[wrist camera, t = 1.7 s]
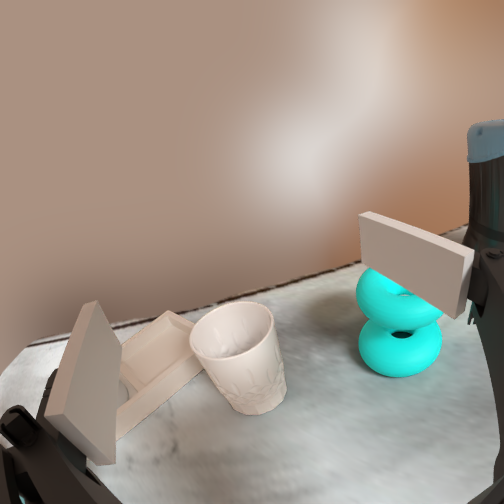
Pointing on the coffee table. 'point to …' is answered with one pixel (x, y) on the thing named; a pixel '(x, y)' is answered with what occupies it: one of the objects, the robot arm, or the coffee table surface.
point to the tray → (155, 368)
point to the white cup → (241, 355)
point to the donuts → (396, 327)
